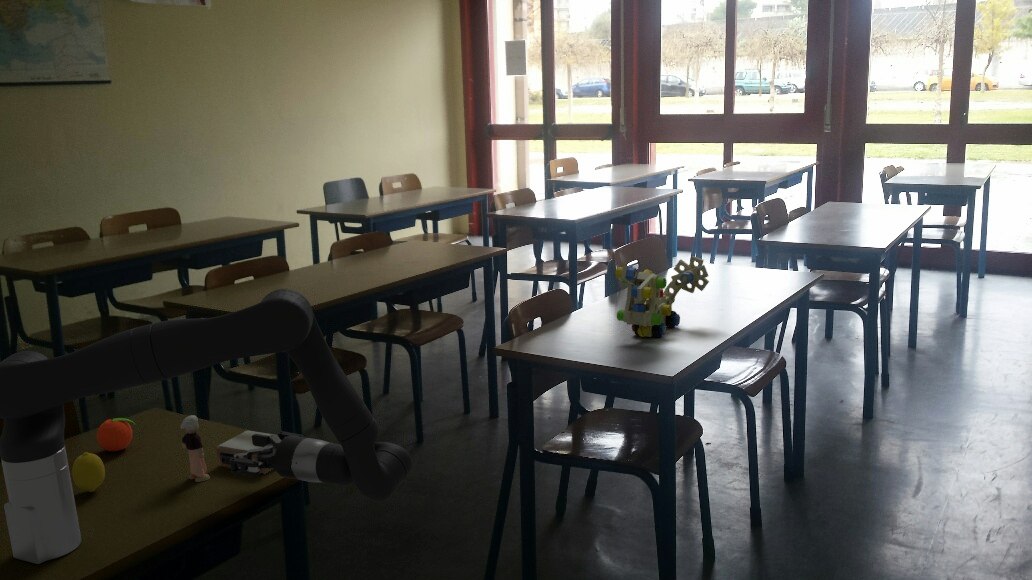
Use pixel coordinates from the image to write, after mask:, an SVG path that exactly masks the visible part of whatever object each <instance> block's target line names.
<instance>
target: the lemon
mask: <svg viewBox="0 0 1032 580" xmlns="http://www.w3.org/2000/svg"><path fill="white" fill-rule="evenodd" d="M71 469H72V472H71V475H72V479H73V482H74V485H76V487H77V488H79V489H80V490H83V491H88V492H90V493H94V492H95V490H96V489H98V488H99V487H100V486H101V485H102V484H103V482H104V480H105V478H106V468H105V465H104V462H103V460H102V459H101V458H100V456H98V455H97V454H94V453H90V452H88V451H86V452H83V453H82V454H81V455H79V456H77V458H76V459H75V460H74V462H73V465H72V468H71Z"/></svg>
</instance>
